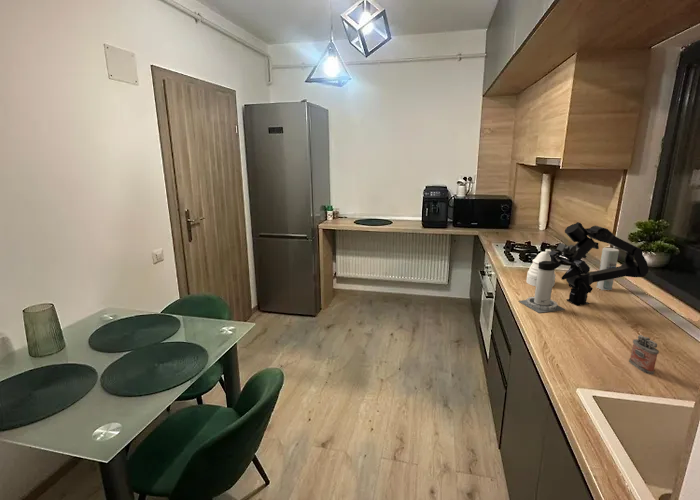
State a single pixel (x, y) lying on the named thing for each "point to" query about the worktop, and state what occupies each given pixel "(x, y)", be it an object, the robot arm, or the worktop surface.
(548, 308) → the metal collar
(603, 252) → the spray can
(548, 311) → the base mat
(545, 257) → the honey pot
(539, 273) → the travel mug
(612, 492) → the worktop surface
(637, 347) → the red and grey container
